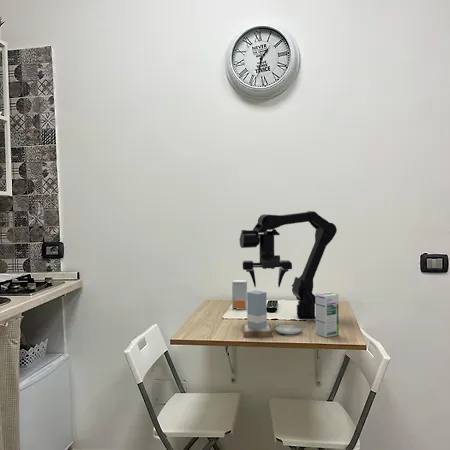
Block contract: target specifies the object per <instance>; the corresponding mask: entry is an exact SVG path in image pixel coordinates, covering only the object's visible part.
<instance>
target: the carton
mask: <svg viewBox="0 0 450 450" xmlns="http://www.w3.org/2000/svg"><path fill="white" fill-rule="evenodd" d="M246 310H247V312H246V313H247V314H246V318H247V319H246V320H247V323H246V324H248V327H249V328H253V329H257V330H260V329H263V328H266V327H267V324H268V323H267V321H268V319H267V318H268V317H267V316H268V314H267V292H266V291H261V290H257V289H256V290H252V291H251V290H250V291H247V308H246Z"/></svg>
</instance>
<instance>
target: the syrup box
mask: <svg viewBox="0 0 450 450" xmlns="http://www.w3.org/2000/svg"><path fill="white" fill-rule="evenodd" d="M314 295H315V317H316V319H315V334H316V335H318V336H320V337H322V338H330V337H335V336H339V332H340V329H339V323H340V322H339V320H340V319H339V318H340V317H339V310H340V309H339V308H340V307H339V294H338V293H336V292H332V291H331V292H330V291H326V292H319V293H315V294H314Z"/></svg>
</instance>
